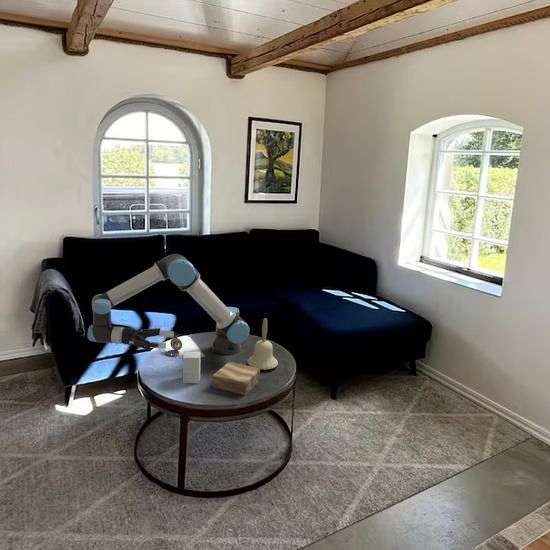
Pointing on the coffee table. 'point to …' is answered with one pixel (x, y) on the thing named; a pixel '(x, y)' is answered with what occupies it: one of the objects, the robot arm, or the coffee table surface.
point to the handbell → (263, 352)
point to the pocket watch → (175, 346)
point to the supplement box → (191, 367)
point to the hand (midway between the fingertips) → (169, 339)
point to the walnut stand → (236, 378)
